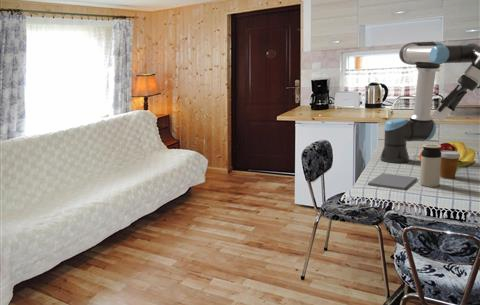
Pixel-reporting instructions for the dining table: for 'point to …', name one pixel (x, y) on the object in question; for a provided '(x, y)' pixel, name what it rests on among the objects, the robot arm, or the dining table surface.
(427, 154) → the travel mug
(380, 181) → the placemat
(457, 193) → the dining table surface
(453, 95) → the robot arm
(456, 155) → the disposable coffee cup
